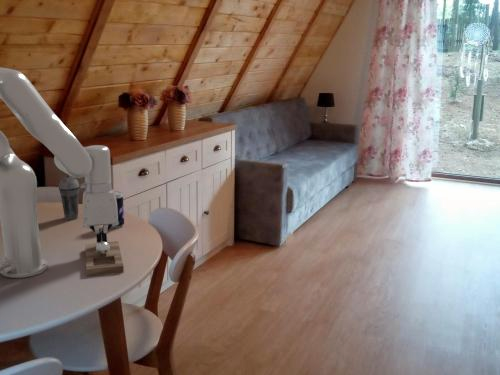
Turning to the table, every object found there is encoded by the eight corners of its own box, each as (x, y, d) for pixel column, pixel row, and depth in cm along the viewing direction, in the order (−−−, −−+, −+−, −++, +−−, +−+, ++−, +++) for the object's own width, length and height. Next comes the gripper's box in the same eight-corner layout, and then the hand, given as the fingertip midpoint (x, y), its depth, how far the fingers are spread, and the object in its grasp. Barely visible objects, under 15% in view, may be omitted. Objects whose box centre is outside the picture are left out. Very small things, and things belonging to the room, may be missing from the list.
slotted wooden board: (123, 272, 156) (123, 265, 156) (86, 276, 154) (86, 269, 153) (118, 247, 175) (118, 241, 174) (85, 250, 172) (85, 244, 171)
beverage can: (122, 228, 191) (120, 195, 188) (105, 228, 192) (104, 195, 188) (126, 223, 197) (124, 191, 194) (110, 223, 197) (108, 190, 194)
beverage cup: (56, 219, 201) (52, 165, 195) (71, 213, 207) (67, 161, 202) (71, 222, 197) (67, 167, 192) (86, 216, 204) (82, 163, 198)
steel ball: (104, 257, 161) (103, 245, 160) (93, 255, 163) (92, 242, 162) (113, 253, 165) (112, 240, 164) (102, 251, 166) (101, 238, 165)
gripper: (72, 191, 159) (76, 251, 164) (125, 188, 164) (127, 246, 169) (72, 185, 166) (76, 242, 171) (123, 182, 171) (125, 238, 176)
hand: (102, 244), depth 170 cm, fingers closed
